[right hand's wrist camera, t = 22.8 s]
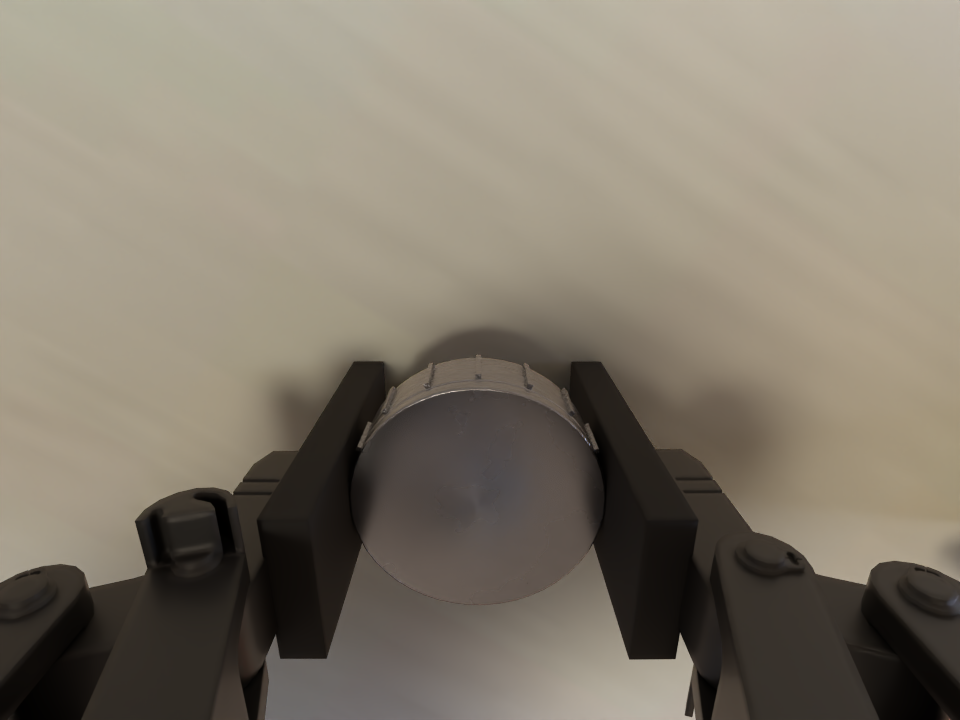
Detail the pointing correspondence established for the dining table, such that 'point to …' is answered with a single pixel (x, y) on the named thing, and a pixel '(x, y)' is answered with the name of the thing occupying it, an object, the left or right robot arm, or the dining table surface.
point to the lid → (477, 483)
